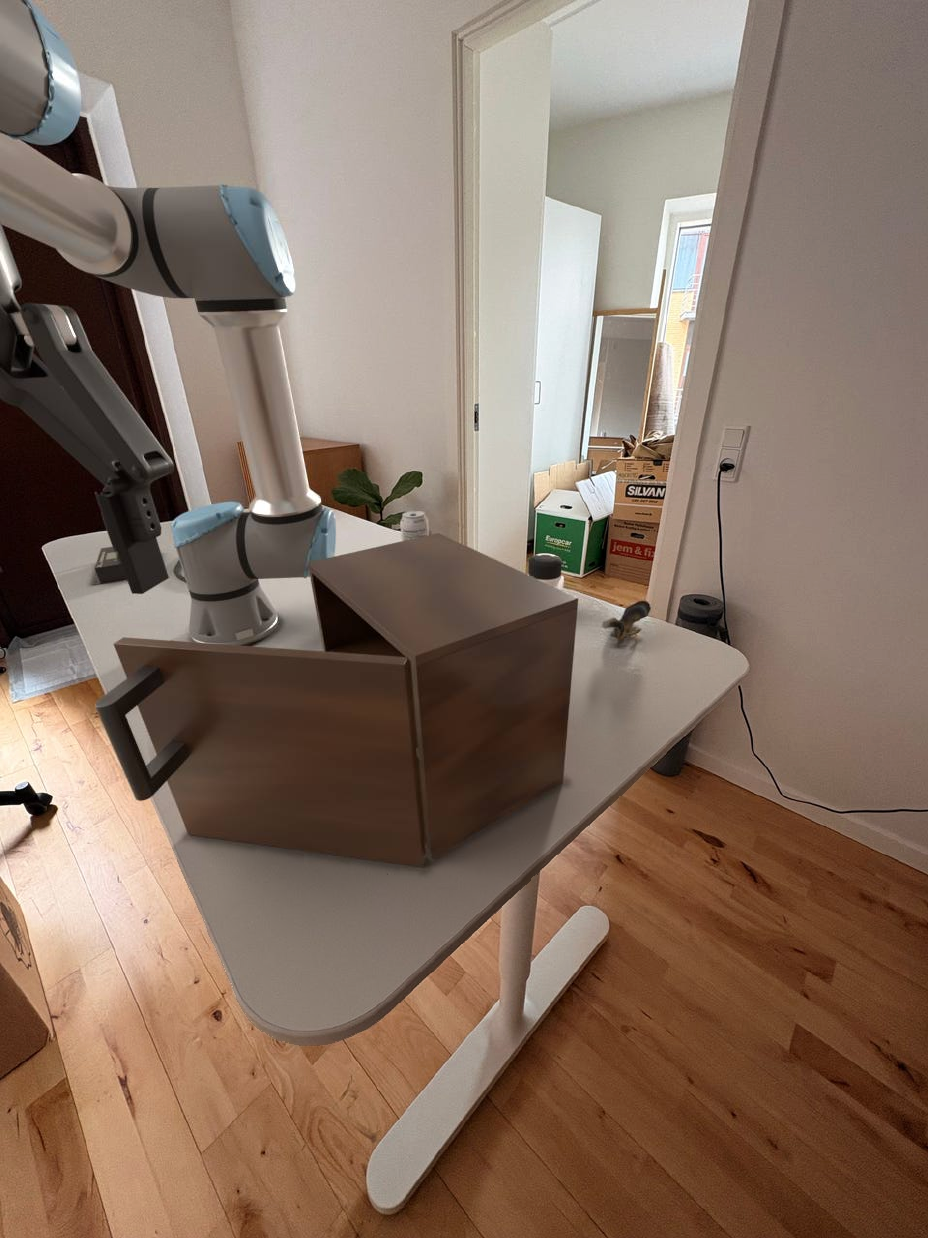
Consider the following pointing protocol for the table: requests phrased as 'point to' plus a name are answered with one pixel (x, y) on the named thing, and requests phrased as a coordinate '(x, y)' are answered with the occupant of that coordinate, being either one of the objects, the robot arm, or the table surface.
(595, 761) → the table surface
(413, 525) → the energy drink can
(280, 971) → the table surface
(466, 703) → the cupboard
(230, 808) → the cupboard door
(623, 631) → the grey-brown animal figure
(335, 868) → the table surface
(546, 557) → the medicine bottle
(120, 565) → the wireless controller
